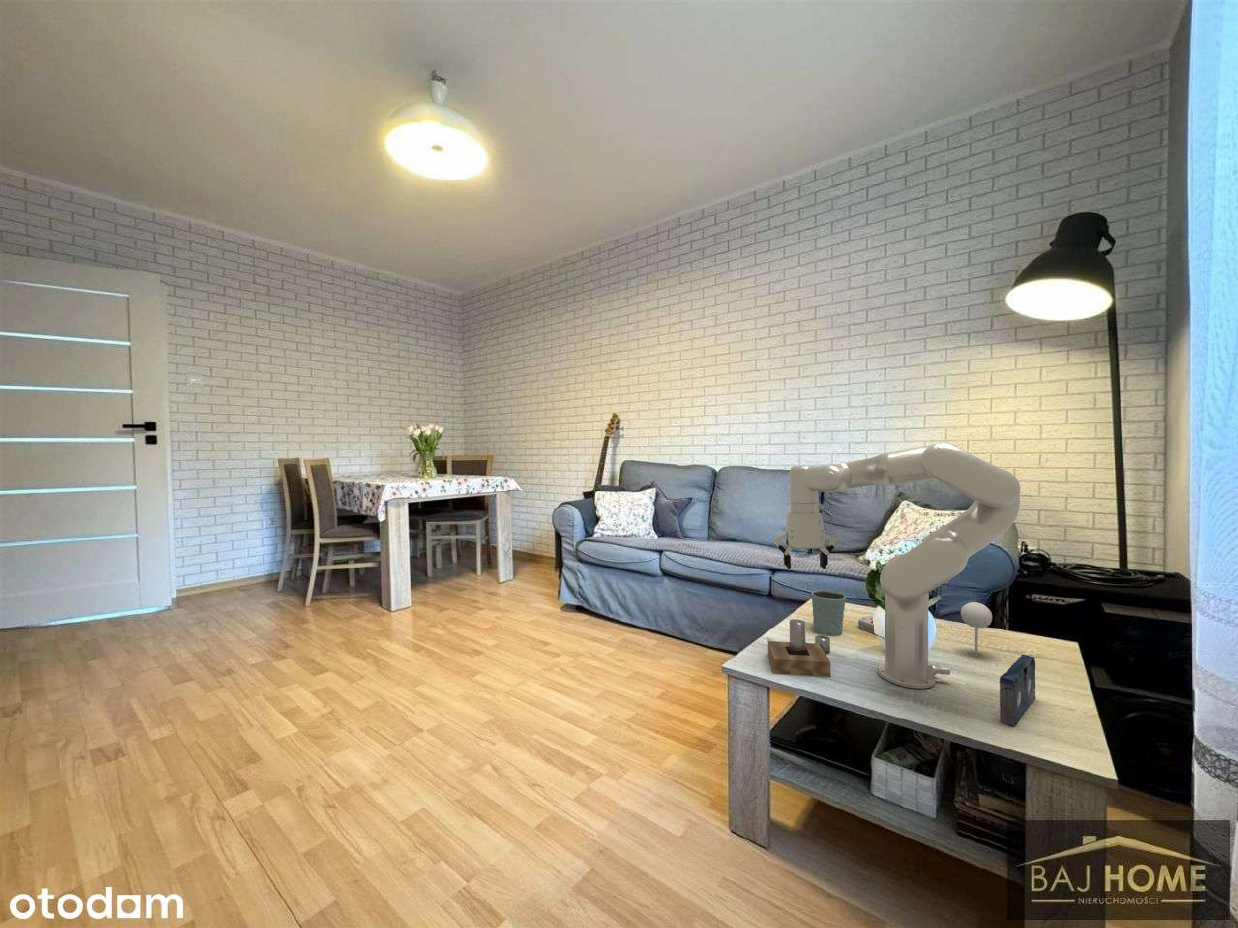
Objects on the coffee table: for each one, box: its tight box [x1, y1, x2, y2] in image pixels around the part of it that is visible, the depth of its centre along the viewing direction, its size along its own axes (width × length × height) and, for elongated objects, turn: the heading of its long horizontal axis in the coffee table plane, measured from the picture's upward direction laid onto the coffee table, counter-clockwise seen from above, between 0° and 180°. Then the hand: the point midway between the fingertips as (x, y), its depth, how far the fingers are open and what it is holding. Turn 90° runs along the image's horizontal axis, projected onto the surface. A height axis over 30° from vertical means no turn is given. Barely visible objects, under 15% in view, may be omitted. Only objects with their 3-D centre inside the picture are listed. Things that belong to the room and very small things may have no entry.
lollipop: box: [960, 601, 993, 657], centre depth 134 cm, size 7×7×15 cm
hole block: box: [767, 640, 832, 678], centre depth 130 cm, size 14×12×4 cm
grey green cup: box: [811, 589, 847, 637], centre depth 154 cm, size 10×10×12 cm
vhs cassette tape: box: [999, 654, 1036, 728], centre depth 106 cm, size 18×3×10 cm, turn 127°
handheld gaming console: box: [857, 614, 876, 635], centre depth 152 cm, size 9×4×15 cm
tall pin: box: [789, 618, 806, 656], centre depth 130 cm, size 4×4×12 cm
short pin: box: [814, 634, 831, 655], centre depth 139 cm, size 4×4×4 cm
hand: (805, 568), depth 136 cm, fingers open, 9 cm apart
